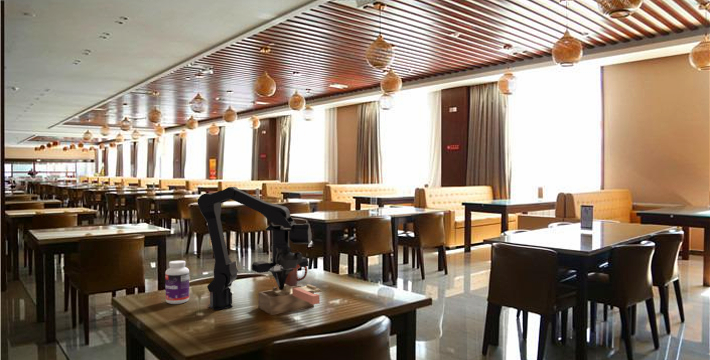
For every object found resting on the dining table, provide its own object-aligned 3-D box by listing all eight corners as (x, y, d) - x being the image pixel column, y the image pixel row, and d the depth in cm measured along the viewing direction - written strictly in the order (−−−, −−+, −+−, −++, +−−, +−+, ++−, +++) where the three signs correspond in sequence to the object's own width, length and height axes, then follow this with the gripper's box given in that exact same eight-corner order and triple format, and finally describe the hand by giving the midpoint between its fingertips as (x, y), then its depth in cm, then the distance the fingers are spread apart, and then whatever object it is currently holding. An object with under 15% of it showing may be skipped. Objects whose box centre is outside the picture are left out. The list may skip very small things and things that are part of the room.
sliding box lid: (283, 298, 160) (283, 288, 160) (274, 293, 166) (274, 284, 166) (320, 291, 168) (320, 282, 168) (310, 287, 174) (309, 278, 174)
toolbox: (271, 315, 156) (270, 295, 156) (258, 308, 164) (258, 289, 164) (313, 306, 165) (313, 288, 165) (299, 300, 173) (299, 283, 173)
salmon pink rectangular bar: (312, 304, 147) (312, 296, 147) (291, 295, 159) (291, 287, 159) (319, 303, 149) (319, 294, 149) (298, 294, 160) (297, 286, 160)
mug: (274, 291, 187) (274, 265, 187) (280, 286, 196) (280, 260, 195) (305, 292, 186) (304, 265, 186) (309, 286, 194) (309, 261, 194)
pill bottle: (160, 303, 171) (160, 262, 171) (178, 297, 178) (177, 259, 178) (176, 305, 167) (176, 264, 167) (194, 300, 175) (193, 260, 174)
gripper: (264, 249, 151) (265, 299, 151) (316, 243, 162) (316, 290, 162) (250, 245, 160) (251, 291, 160) (300, 240, 171) (301, 284, 171)
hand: (281, 289), depth 163 cm, fingers closed
